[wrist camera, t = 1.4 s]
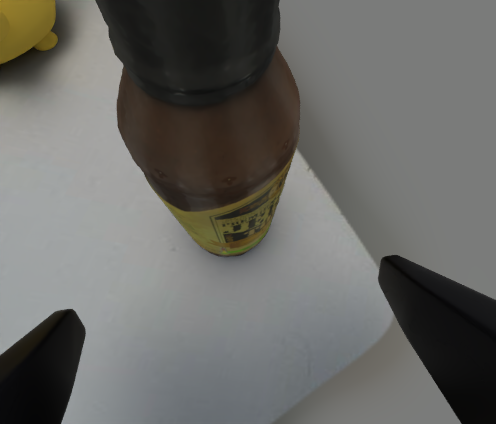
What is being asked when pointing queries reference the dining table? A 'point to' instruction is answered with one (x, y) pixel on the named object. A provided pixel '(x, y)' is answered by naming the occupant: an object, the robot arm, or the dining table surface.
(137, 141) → the sauce bottle
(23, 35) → the teapot
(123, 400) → the dining table surface
